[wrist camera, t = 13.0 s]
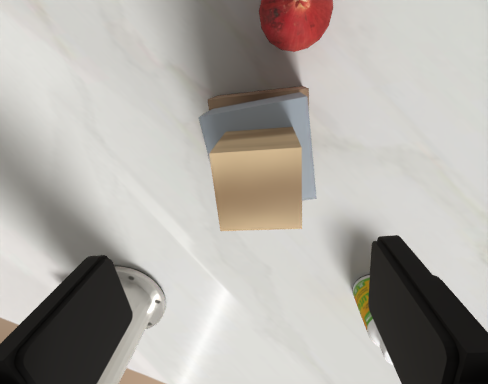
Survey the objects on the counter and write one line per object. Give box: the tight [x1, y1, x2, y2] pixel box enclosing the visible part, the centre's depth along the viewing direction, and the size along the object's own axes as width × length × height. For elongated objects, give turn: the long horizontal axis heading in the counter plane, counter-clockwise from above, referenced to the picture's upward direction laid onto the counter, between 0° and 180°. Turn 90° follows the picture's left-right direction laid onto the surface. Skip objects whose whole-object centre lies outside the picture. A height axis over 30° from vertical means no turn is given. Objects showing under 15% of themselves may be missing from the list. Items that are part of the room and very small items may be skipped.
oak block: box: [209, 127, 302, 231], centre depth 18 cm, size 5×5×6 cm
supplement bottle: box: [353, 275, 393, 365], centre depth 32 cm, size 5×5×10 cm
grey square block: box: [199, 92, 317, 200], centre depth 23 cm, size 8×8×5 cm
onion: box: [259, 0, 333, 52], centre depth 21 cm, size 6×6×8 cm
